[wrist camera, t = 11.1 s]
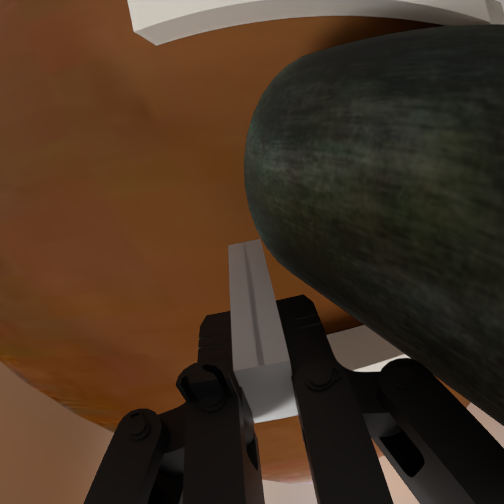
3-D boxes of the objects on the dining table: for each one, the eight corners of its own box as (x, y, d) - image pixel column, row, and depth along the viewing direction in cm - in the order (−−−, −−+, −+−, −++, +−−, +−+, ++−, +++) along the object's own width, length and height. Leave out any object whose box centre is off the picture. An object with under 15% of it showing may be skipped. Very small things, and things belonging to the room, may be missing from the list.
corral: (150, 18, 10) (127, -2, 7) (461, 8, 9) (500, 2, 6) (249, 365, 21) (253, 405, 18) (454, 308, 20) (476, 336, 17)
